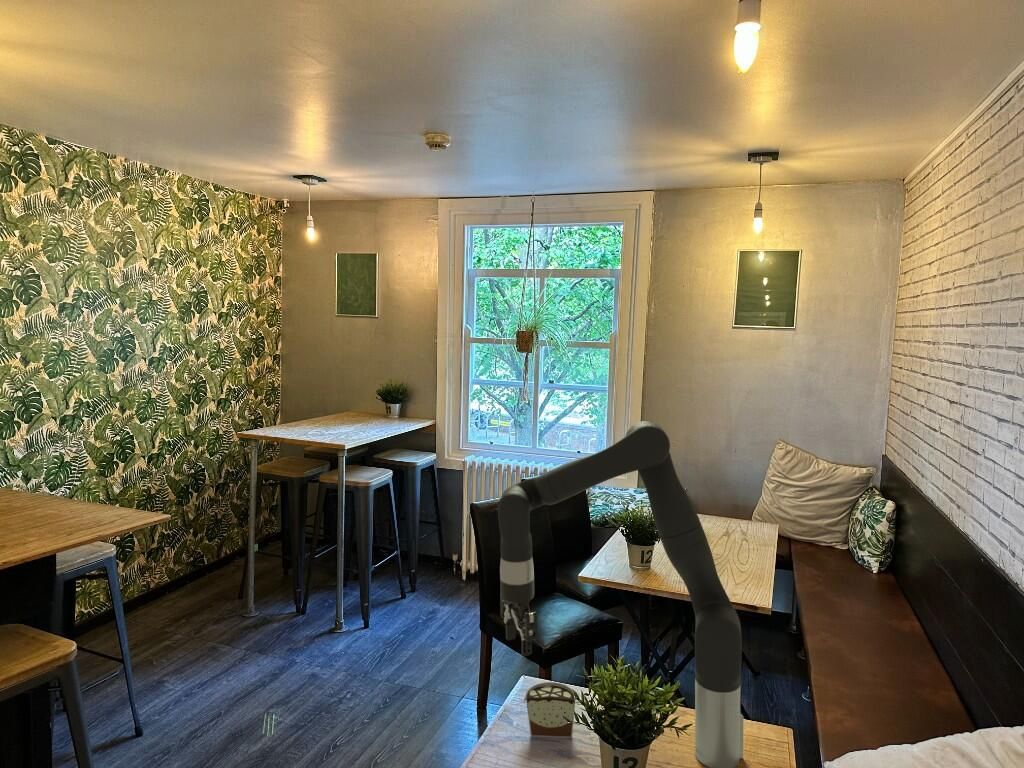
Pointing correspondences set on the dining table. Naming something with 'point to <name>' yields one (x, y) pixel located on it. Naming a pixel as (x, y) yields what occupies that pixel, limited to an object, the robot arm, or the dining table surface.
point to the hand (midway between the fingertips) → (518, 646)
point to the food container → (550, 710)
